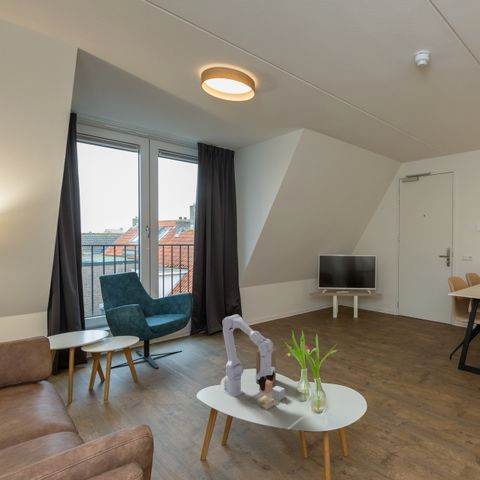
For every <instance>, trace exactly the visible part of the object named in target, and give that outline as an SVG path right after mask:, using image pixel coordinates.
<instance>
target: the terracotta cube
mask: <svg viewBox="0 0 480 480" xmlns="http://www.w3.org/2000/svg"><path fill="white" fill-rule="evenodd" d="M273 384H274V383H273V382H272V381H270V380H266V383H265V390H264V391H262V390H261V389H260V385H259V384H258V388H259V392H262V393H265V394H268V393H270V392H271V391H272V388H273Z"/></svg>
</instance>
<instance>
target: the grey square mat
mask: <svg viewBox="0 0 480 480" xmlns="http://www.w3.org/2000/svg"><path fill="white" fill-rule="evenodd" d="M263 396H267V397H270V398H272V391H271V392H270V393H268V394H265V393H262V392H260V391H259V392H257V393H255V394H253V395H252V396H250V397H248V398H246V399H245V401H247V402H249V403H251V404H253V405H255V406H257V407H259V408H262V409H264V410H266V411H268V412H269V411H271V410H272V409H274V408H275V407H277V406H279V405H280V404H282V403H283V402H285V401H286V400H288V399H289V397H287V396H285V395H284V398H283V399H281V400H276V399H274V398H272V399H274V405H273V406H271V407H270V408H268V409H265V408H263V407H261V406H259V405H258V399H260V398H262V397H263Z"/></svg>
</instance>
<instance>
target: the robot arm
mask: <svg viewBox="0 0 480 480" xmlns="http://www.w3.org/2000/svg"><path fill="white" fill-rule="evenodd" d="M243 319H244V318H243V317H241V315H240V314H236V313H235V314H233V315H231V316H230V315H229V316H225V318H224V317H223V320H222V321H221V322H222V335H223V341H224V344H225V349H226V350H225V351H226V354H227V355H226V357H227V363H226V364H225V375H226V376H225V377H224V379H223V381H224V383H223V385H224V386H223V391H222V392H224V393H226V394H228V395H230V396H231V397H234V398H236V397H237V396H240V395H241V394H243V393H244V392H245V391H244V390H242V374H243V373H244V371H245V369H244V366H243V363H242V361H241V360H240V359H238V354H237V349H236V344H235V339H234V330H235V329H240V330H241V331H242V332H244V333H245V334H246V335H248V336H249V339H250V341H251V342H253V344H255V345H256V346H257V347H258V350H259V351H260V354H261V370H260V372H259V373H258V374H257V375H255V380H256V379H257V380H258V382H259V384H258V386H259V385H260V389H261V390H262V391H264V390H265V383H266V380H270V381H273V378H274V376H275V373H273V372H275V367H271V349H274V343H273V341H272V340H271V339H269V338H266V337H264V336H263V335H262V334H261V333H260V332H259V330H253V329H252V328H251V327H250V326H249V325H248V324H247V323H246V322H245V321H244V320H243ZM264 376H266V379H265V378H264Z"/></svg>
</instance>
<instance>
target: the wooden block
mask: <svg viewBox="0 0 480 480" xmlns="http://www.w3.org/2000/svg"><path fill="white" fill-rule="evenodd" d="M255 355H256V358H255V361H256V362H255V366H256V367H255V374H256V375H257V374H258V373H259V372H260V370H261V354H260V351H259V349H258V350H256V354H255ZM276 360H277V350H276V348H273V349H271V367H275V372H273V373H275V376H274V378H273V381H272V382H273V384H274V383H275V382H276V372H277V371H276V369H277V367H276V365H277V364H276V363H277V361H276ZM256 375H255V376H256ZM264 378H265V379H266V376H264ZM255 383H256V384H258V385H259V382H258V380H257V379H256V378H255Z"/></svg>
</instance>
